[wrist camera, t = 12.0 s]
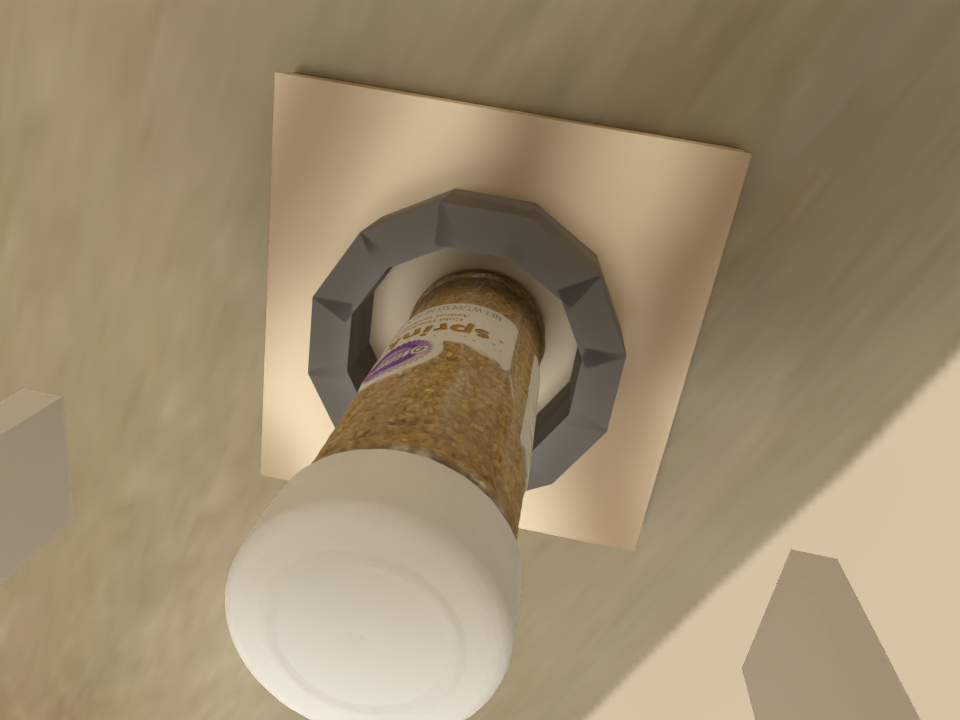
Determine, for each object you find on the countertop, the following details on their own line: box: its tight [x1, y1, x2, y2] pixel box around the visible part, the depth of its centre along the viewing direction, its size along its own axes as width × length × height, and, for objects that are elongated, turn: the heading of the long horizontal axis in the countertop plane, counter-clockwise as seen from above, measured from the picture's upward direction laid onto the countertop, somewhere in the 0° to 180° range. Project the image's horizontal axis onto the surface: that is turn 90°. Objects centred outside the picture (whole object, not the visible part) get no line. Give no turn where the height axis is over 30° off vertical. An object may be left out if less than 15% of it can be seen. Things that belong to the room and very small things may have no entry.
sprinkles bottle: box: [225, 271, 545, 720], centre depth 16 cm, size 5×5×14 cm
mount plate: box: [261, 72, 752, 552], centre depth 22 cm, size 14×14×4 cm
